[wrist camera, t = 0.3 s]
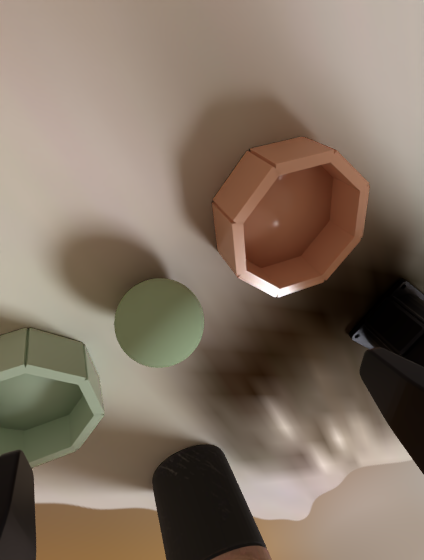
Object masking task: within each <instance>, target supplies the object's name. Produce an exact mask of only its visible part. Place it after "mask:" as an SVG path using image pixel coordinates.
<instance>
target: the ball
mask: <svg viewBox="0 0 424 560" xmlns="http://www.w3.org/2000/svg"><path fill="white" fill-rule="evenodd" d="M114 326H115V333H116V337H117V340H118V342H119V344H120V346H121V348H122V349H123V351H124V352H125V353H126V354H127V355H128V356H129V357H130V358H132V359H133V360H134V361H136V362H138V363H140V364H142V365H145V366H148V367H155V368H163V367H169V366H172V365H175V364H178V363H180V362H181V361H183V360H185V359H186V358H187V357H188V356H189V355H191V353H192V352H193V351H194V350H195V349H196V347H197V346H198V344H199V342H200V340H201V337H202V334H203V329H204V315H203V311H202V307H201V305H200V303H199V301H198V299H197V298H196V296H195V295H194V294H193V293H192V292H191V291H190V290H189V289H188V288H187V287H186V286H184V285H183V284H181V283H179V282H177V281H174V280H170V279H164V278H156V279H150V280H146V281H143V282H141V283H139V284H137V285H136V286H134V287H133V288H131V289H130V290H129V291H128V292H127V293H126V294H125V295H124V297H123V298H122V299H121V301H120V303H119V305H118V307H117V310H116V314H115V322H114Z"/></svg>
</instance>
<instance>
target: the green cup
mask: <svg viewBox="0 0 424 560" xmlns="http://www.w3.org/2000/svg"><path fill="white" fill-rule="evenodd" d="M103 416H104V406H103V399H102V392H101V385H100V378H99V375H98V373H97V371H96V369H95V366H94V364H93V362H92V360H91V358H90V355H89V353H88V351H87V349H86V346H85V344H84V345H83V343H82V342H79V341H75V340H72V339H68V338H65V337H61V336H58V335H54V334H51V333H47V332H44V331H40V330H37V329H33V328H29V330H28V329H27V328H23V329H20V330H17V331H13V332H10V333H7V334H4V335H0V456H1V455H2V454H4V453H7V452H10V451H14V450H18V449H20V450H22V451H23V453H24V455H25V456H26V458H27V460H28V462H29V464H30V466H31V468H33V467H36V466H39V465H41V464H44V463H46V462H49V461H52V460H54V459H57V458H60V457H62V456H65V455H67V454H70V453H73V452H75V451H76V449H79V448H80V447H81V446H82V444H83V443H84V442H85V440H86V439H87V438H88V436H89V435H90V434H91V432H92V431H93V430H94V428H95V427H96V426H97V424H98V423H99V422H100V420H101V419H102V418H103Z"/></svg>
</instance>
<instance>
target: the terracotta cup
mask: <svg viewBox="0 0 424 560" xmlns="http://www.w3.org/2000/svg"><path fill="white" fill-rule="evenodd" d="M368 184H369V183H368V182H367V181H366V180H365V179H364V178H363V177H362V175H361V174H360V173H359V172H358V171H357V170H356V169H355V168H354V167H353V166H352V165H351V164H350V163H349V162H348V161H347V160H346V159H345V158H344V157H343V156H342V155H341V154H340V153H339V152H338V151H337V150H335V149H332V148H330V147H327V146H325V145H323V144H320V143H318V142H315V141H313V140H311V139H308V138H306V137H297V138H293V139H289V140H284V141H280V142H276V143H272V144H267V145H263V146H259V147H254V148H250V152H249V151H246V153H245V154H244V156H243V157H242V158H241V160H240V161H239V163H238V164H237V165H236V167H235V168H234V170H233V171H232V173H231V174H230V175H229V177H228V178H227V180H226V181H225V183H224V184H223V185H222V187H221V188H220V190H219V191H218V193H217V194H216V195H215V197H214V198H213V201H214V202H212V209H213V217H214V225H215V233H216V241H217V249H218V252H219V253H220V255H221V256H222V257H223V259H224V260H225V261H226V263H227V264H228V265H229V267H230V268H231V269H232V271H233V272H234V273H235V274H236V276H237V277H238V278H239V279H241V280H243V281H245V282H247V283H249V284H251V285H253V286H254V287H256V288H258V289H260V290H262V291H264V292H266V293H268V294H270V295H272V296H274V297H276V296H277V297H281V296H284V295H287V294H290V293H293V292H296V291H299V290H302V289H305V288H308V287H311V286H314V285H317V284H320V283H323V282H324V279H325V280H327V279H328V278H329V277H330V276H331V274H332V273H333V272H334V271H335V270H336V269H337V267H338V266H339V265H340V264H341V263H342V262H343V260H344V259H345V258H346V257H347V256H348V255H349V253H350V252H351V251H352V250H353V249H354V248H355V246H356V245H357V244H358V243H359V242H360V241H361V239H360V238H361V237H363V231H364V224H365V217H366V210H367V203H368V196H369V189H370V186H369V185H368Z"/></svg>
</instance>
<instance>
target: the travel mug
mask: <svg viewBox="0 0 424 560" xmlns="http://www.w3.org/2000/svg"><path fill="white" fill-rule="evenodd" d="M152 483H153V491H154V496H155V502H156V507H157V512H158V517H159V523H160V528H161V533H162V538H163V544H164V549H165V554H166V559H167V560H271V557H270V555H269V552H268V550H267V548H266V545H265V543H264V541H263V539H262V536H261V534H260V532H259V530H258V527H257V525H256V523H255V521H254V519H253V516H252V514H251V512H250V510H249V507H248V505H247V503H246V501H245V499H244V496H243V494H242V492H241V490H240V487H239V485H238V483H237V481H236V479H235V476H234V474H233V472H232V470H231V468H230V465H229V463H228V461H227V459H226V457H225V455H224V453H223V452H222V450H221V449H219V448H218V447H215V446H212V445H199V446H194V447H190V448H187V449H184V450H182V451H179V452H177V453H176V454H174V455H172V456H171V457H169V458H168V459H166V460H165V461H164V462H163V463H162V464H161V465H160V466H159V467H158V468H157V470H156V471H155V473H154V475H153V480H152Z"/></svg>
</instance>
